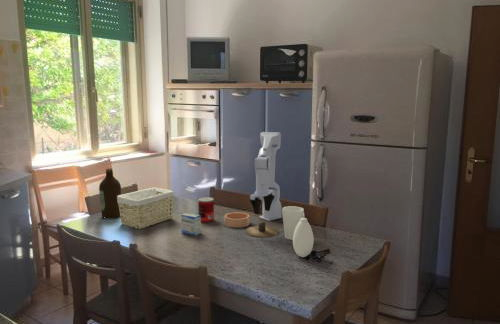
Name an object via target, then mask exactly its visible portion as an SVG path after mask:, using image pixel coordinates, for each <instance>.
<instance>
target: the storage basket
mask: <svg viewBox="0 0 500 324" xmlns="http://www.w3.org/2000/svg"><path fill="white" fill-rule="evenodd" d="M117 202H118V205H119V211H120V222H121V225H123V224H124V226H126V225H127V227H129V228H133V227H135V228H134V229H137V228H138V229H137V230H139V229H140V230H141V229H145V228H149V227H150V225H151V226H153V225H156V224H160V223H162V222H165V221H169V220H171V219H173V212H174V210H173V209H174V191H173V190H171V189H165V188H161V187H154V186H153V187H149V188H145V189H141V190H136V191H132V192H128V193H123V194H122V193H121V195H118V196H117Z"/></svg>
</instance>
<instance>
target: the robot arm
mask: <svg viewBox="0 0 500 324" xmlns="http://www.w3.org/2000/svg"><path fill="white" fill-rule="evenodd" d="M259 137H260V138H259V139H260V140H259V142H260V145H261V148H259V150H258V151H259V152H258V155H257V157H255V158H254V169H255V170H254V171H255V191H254V193H252V194H249V202H250V204H251V206H252V208H253V212H254V214H255V215H259V216H258V218H260V219H262V220H265V221H268V222H269V221H273V220H278V219H283V215H282V202H281V201H280V197H281V191H280V190H281V189H280V185H279V184H278V183H277V182H276V181H275V177H276V176H275V175H276V156H277V155H276V154H277V150H279V149H280V148H281V146H282V145H281V142H282V141H281V140H282V135H281V132H279V131H277V132H271V131H268V132H267V131H262V132H260V135H259ZM261 203H262V215H260V209H261Z"/></svg>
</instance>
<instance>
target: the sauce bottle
mask: <svg viewBox="0 0 500 324" xmlns="http://www.w3.org/2000/svg"><path fill="white" fill-rule="evenodd" d="M314 242H315V241H314V233H313V229H312V227H311V224H310V223H309V222H308V218H307V217H305V212H304V213H303V218H301V219H300V222H299V223H298V224H297V226H296V228H295V231H294V235H293V240H292V245H293V250H294V252H295V253H296V255H298V256H299V257H301V258H306V257H308V255H310V254H311V252H312V250H313V247H314Z"/></svg>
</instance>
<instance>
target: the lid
mask: <svg viewBox="0 0 500 324" xmlns="http://www.w3.org/2000/svg"><path fill="white" fill-rule="evenodd" d="M245 234H247V235H248V236H250V237H256V238H270V237H275V236H277V235H278V234H279V229H278V228H276V227H274V226H269V225H267V224H266V221H263V220H262V221H261V220H260V221H258V225H254V226H249V227H248V228H246V229H245Z"/></svg>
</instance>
